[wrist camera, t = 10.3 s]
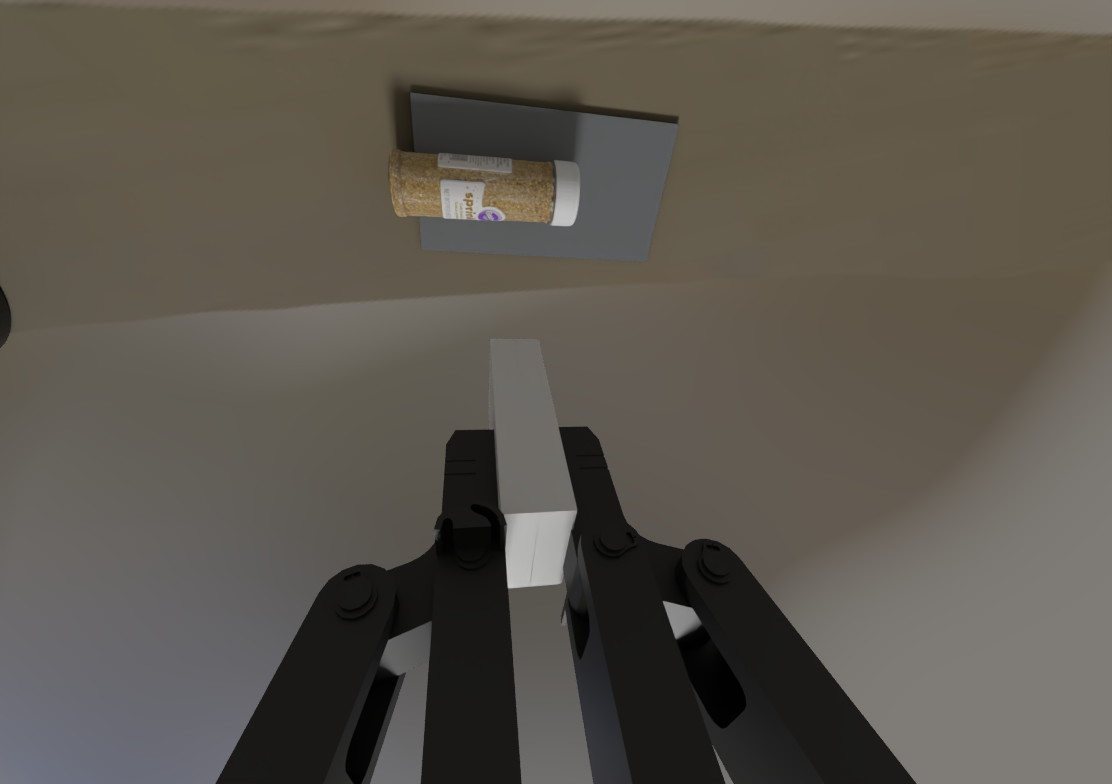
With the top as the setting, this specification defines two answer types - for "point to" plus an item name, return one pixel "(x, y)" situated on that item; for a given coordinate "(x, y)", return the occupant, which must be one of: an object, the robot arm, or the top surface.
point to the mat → (546, 135)
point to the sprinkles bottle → (483, 188)
